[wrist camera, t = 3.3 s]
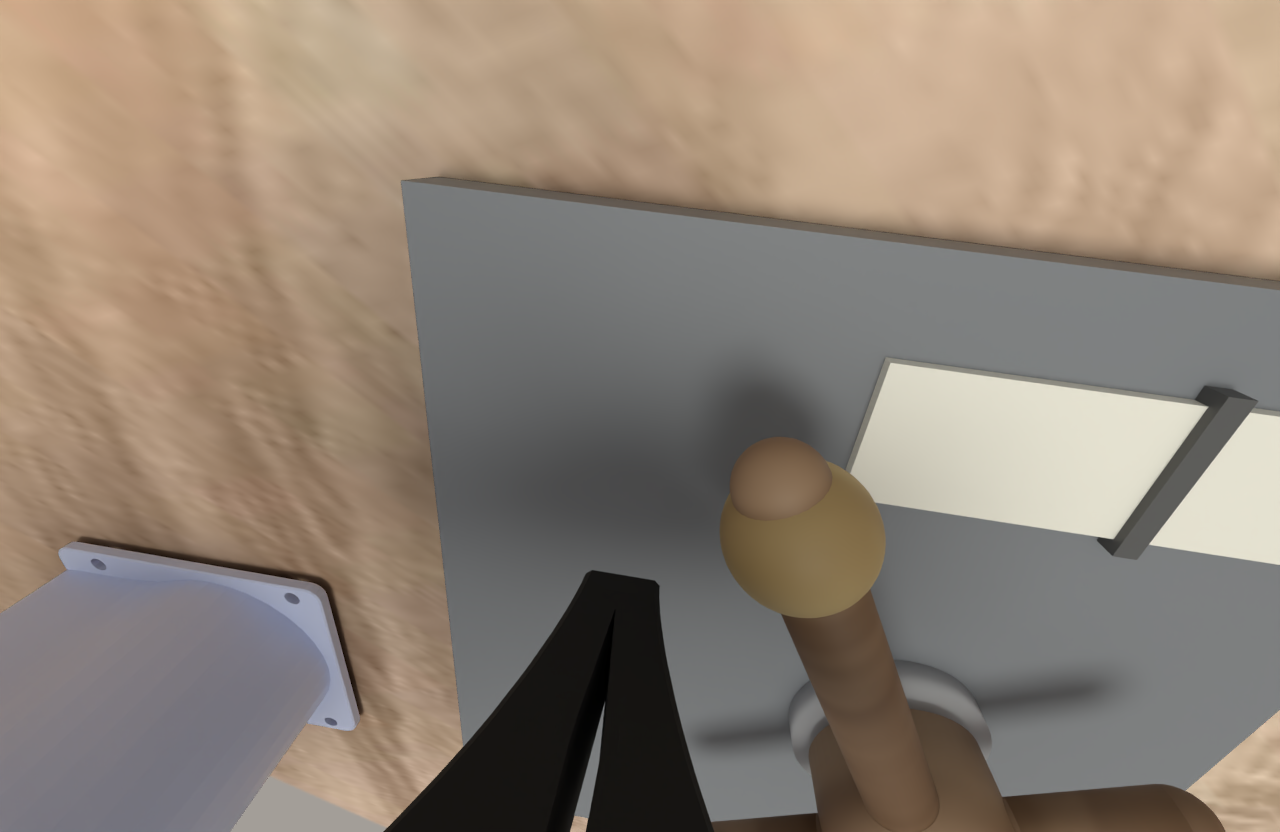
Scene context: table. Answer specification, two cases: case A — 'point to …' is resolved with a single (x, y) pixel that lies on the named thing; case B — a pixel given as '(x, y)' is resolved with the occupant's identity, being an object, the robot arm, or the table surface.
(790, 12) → the table surface
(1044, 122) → the table surface
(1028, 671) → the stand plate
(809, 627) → the capstan dial
